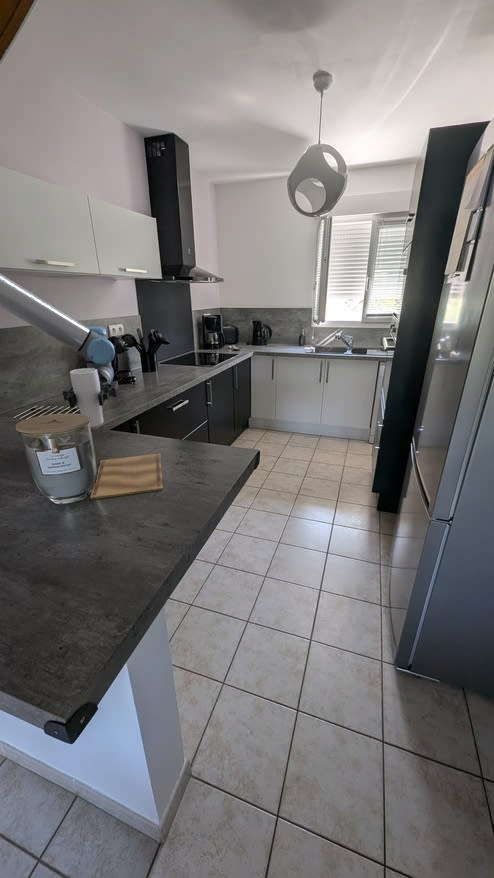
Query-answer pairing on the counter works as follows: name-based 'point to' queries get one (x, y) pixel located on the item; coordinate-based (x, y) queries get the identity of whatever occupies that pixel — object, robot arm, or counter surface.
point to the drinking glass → (87, 394)
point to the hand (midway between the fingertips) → (85, 401)
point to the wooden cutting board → (128, 476)
